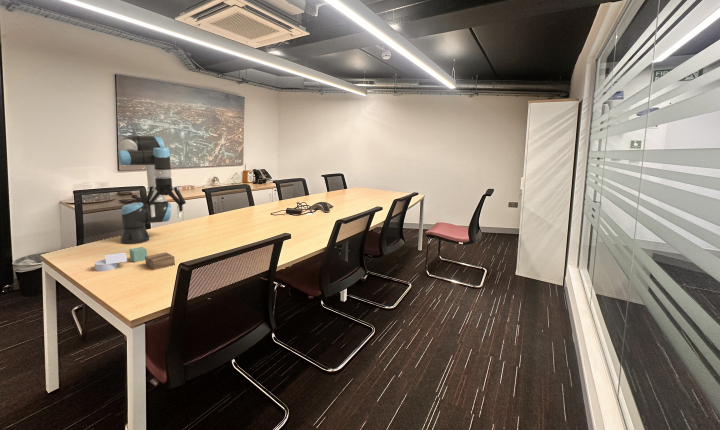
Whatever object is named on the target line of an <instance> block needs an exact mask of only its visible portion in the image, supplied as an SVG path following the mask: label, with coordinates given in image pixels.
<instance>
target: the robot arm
mask: <svg viewBox="0 0 720 430" xmlns="http://www.w3.org/2000/svg"><path fill="white" fill-rule="evenodd" d="M117 149H118V161H119V165H121V166H145V168H146V177H147V187H148V193H147V196H146V197H145V200H144V202H132V203H128V204H126V205H122V207H121V208H120V209H121V210H120V211H121V213H120V214H121V220H122V221H121V223H122V233H121V236H120V243H121V244H126V245H132V244H133V245H134V244H135V245H136V244H142V243H146V242H148V241H149V240H150V235H149V232H148V230H147V229H146V224H153V223H154V224H155V223H165V222H169V221H170V219H171V217H172V216H171V215H172V204H171V203H169V200H168V199H166V196H169V197H170V198H171V199H172V200H173V201H174V202H175V203H176V204H177V205H176V209H177V210H176V211H177V218H178V219H180V218H182V212H183V208H184V207H183V205H185V204H186V203H187V202H186V200H185V199H184V196H183V195H182V193H181V192H180V188H179V186H175V187H174V186H173V181H172V169H171V153H170V152H171V151H170V149H169V148H168V147H166V145H165V141H164V140H163V137H160V136H154V135H153V136H152V135H150V136H149V135H129V136H126V137H124V138H122V139H120V140H119V142H118V143H117ZM173 191H174V192H173Z"/></svg>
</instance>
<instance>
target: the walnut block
mask: <svg viewBox="0 0 720 430" xmlns="http://www.w3.org/2000/svg"><path fill="white" fill-rule="evenodd" d="M175 263H176V262H175V256H174V255H172V254H170V253H168V252H160V253H156V254H155V253H154V254H149V255H147V256H145V266H146V267H148V268H150V269H151V270H153V271H157V270H161V269H165V268H168V267H169V266H170V267H173V265H174V266H175V265H176V264H175Z"/></svg>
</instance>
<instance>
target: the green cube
mask: <svg viewBox="0 0 720 430" xmlns="http://www.w3.org/2000/svg"><path fill="white" fill-rule="evenodd" d="M145 256H148V250H147V248H145V247H143V246H140V247H133V248H129V259H130V261H131V260H132V261H131V262H133V263H138V262H139V261H140V262H143V261H144V260H145Z"/></svg>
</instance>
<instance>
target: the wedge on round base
mask: <svg viewBox="0 0 720 430" xmlns="http://www.w3.org/2000/svg"><path fill="white" fill-rule="evenodd" d="M104 257H105V258H104V259H99V260H97V261H95V262H94V271H96V272H107V271H113V270H115V269H117V268H118V264H119V263H126V262H128V257H127V253H126V252H120V253H119V252H117V253H114V254H113V253H112V254H105V255H104Z"/></svg>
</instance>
